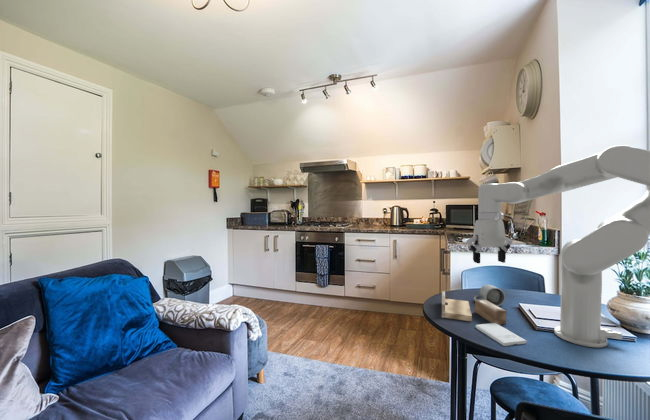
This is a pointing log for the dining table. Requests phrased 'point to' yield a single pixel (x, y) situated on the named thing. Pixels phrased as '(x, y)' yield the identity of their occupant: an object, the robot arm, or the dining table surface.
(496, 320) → the brown rectangular block
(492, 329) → the external hard drive
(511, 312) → the dining table surface
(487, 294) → the ceramic mug
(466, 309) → the oak ledge
